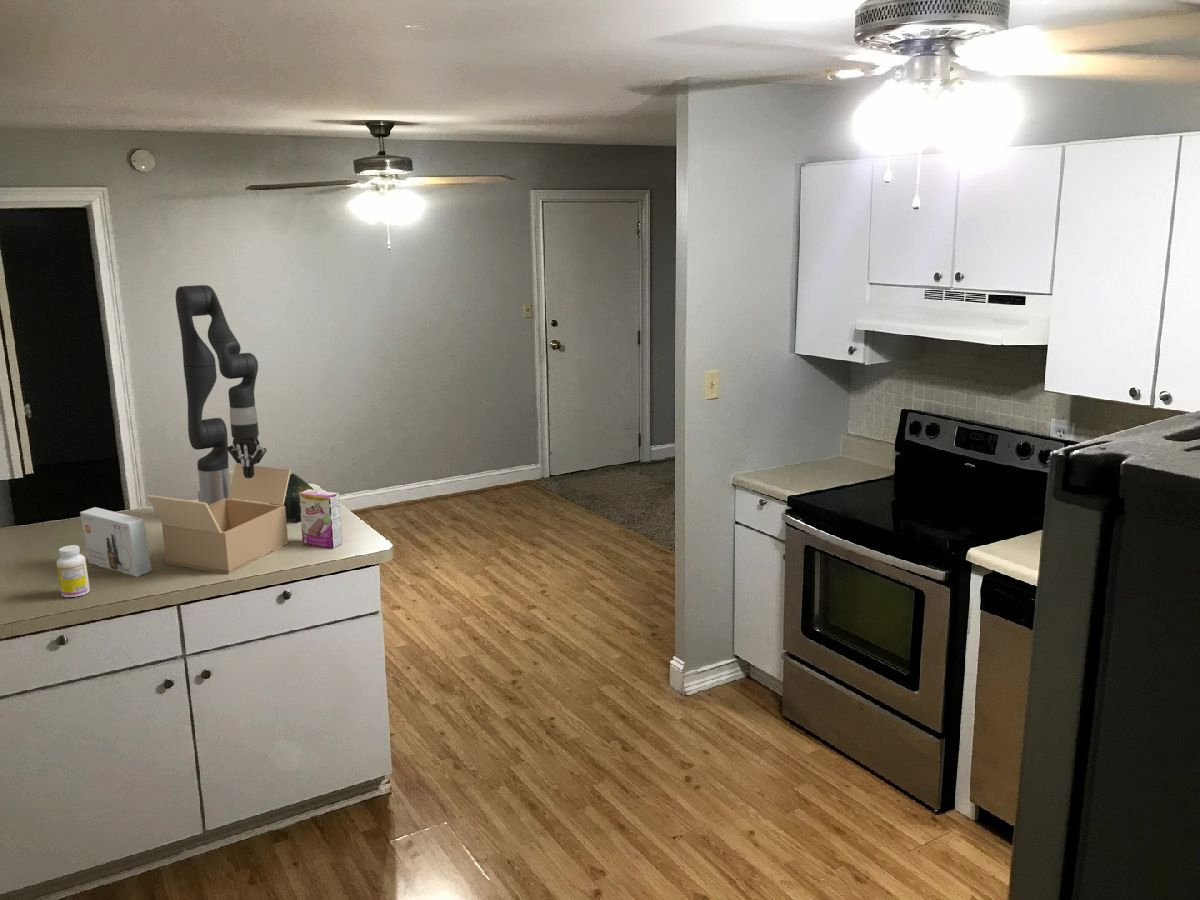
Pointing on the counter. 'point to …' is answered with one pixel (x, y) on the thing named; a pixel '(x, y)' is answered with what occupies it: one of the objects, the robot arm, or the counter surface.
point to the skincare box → (116, 541)
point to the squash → (294, 496)
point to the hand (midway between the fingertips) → (249, 477)
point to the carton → (228, 537)
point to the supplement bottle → (72, 572)
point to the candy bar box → (320, 518)
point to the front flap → (184, 513)
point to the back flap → (260, 485)
